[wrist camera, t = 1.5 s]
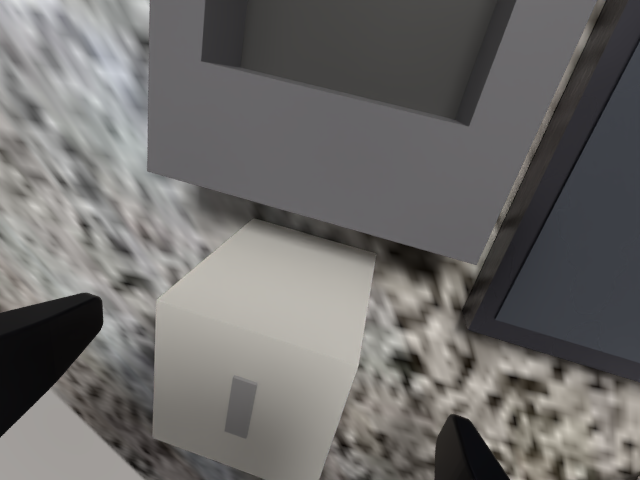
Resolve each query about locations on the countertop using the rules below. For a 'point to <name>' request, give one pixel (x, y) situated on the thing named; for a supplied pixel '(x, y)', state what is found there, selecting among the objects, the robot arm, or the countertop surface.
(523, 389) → the countertop surface
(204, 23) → the grey tray
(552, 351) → the phone
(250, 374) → the block
